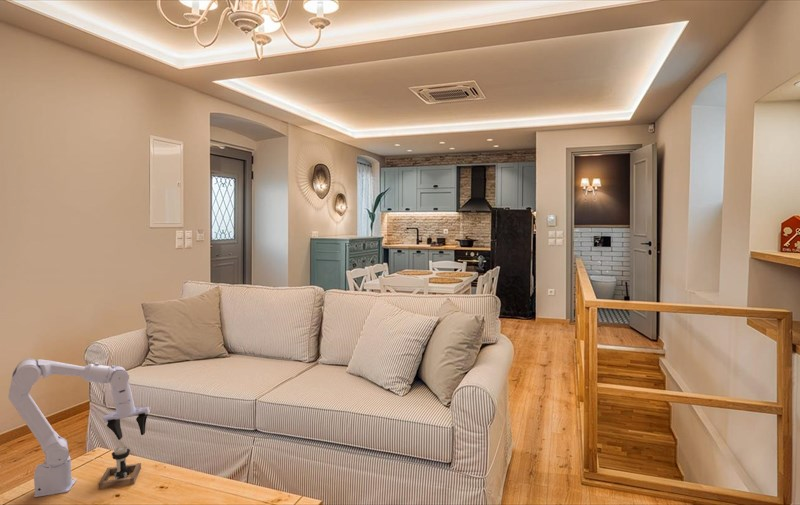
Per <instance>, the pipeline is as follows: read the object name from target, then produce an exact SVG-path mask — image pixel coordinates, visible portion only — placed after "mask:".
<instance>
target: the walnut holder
mask: <svg viewBox="0 0 800 505" xmlns="http://www.w3.org/2000/svg"><path fill="white" fill-rule="evenodd" d="M126 466H127V467H129V469H130V473H131V472H132V474H131V476H129V477H128V476H127V477H126V478H121V479H115V480H113V479H110V480H109V478H110V476H112V475H115V473H116V468H117V466H111V467H107V468H106V470H105V471H104V472H103V475H102V476H101V478H100V480H99V482H98V484H97V488H98V490H100V491H101V490H107V489H111V488H118V487H125V486H130V485H135V483H136V481H137V479H138V476H139V474H140V472H141V469H142V463H141V462H137V463H132V464H131V463H130V464H126Z"/></svg>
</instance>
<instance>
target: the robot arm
mask: <svg viewBox="0 0 800 505" xmlns="http://www.w3.org/2000/svg"><path fill="white" fill-rule="evenodd" d="M52 375H59V376H60V375H62V376H63V375H64V376H75V377H81V378H82V379H83V381H84V382H91V383H92V382H94V383H101V384H109V383H110V386H111V395H112V399H113V403H114V406H115V412H113V413H110V414H105V415H104V416H103V418H102V419H103V423H104V424H105V423H107V424H106V427H107V428H108V429H110V430H111V431H112V432H113V433H114V435H115V436H116V438H117V440H118V441H120V440H122V439H123V431H122V427H121V419H126V418H127V419H128V418H131V417H136V416H137V417H136V422H137V424H138V427H139V432H140V435H141V436H144V435H145V433H146V424H147V418H148V416H149V414H150V413H151V409H150V406H145V407H136V406H135V402H134V397H133V393H132V389H131V385H130V381H129V380H130V374H128V371H127V370H126V369H125V367H122V366H120V365H114V364H113V365H112V364H111V366H110V365H104V364H103V365H102V364H100V362H94V363H89V364H87V365H85V366H84V365H77V364H71V363H67V362H61V361H56V360H48V359H41V358H38V359H35V358H26V359H22V360H20V362H19V363H18V364H17V365H16V367H15V368H14V370H13V372H12V376H11V381H10V385H9V388H8V396H7V398H8V400H9V401H10V402H11V404H12V406H13V407H14V409H15V410H16V411H17V413H18V414H19V415H20V417H21V419H22V421H24V423H25V424H26V425H27V427H28V429H29V430H30V431H31V433H32V435H33V436H34V438H35V439H36V440H37V442H38V444H39V445H40V448H41V450H42V452H43V454H44V459H45V460H44V461H43V463H39V464H38V465H36V466H35V468H34V472H33V473H34V474H33V483H34V495H33V497H34V498H39V497H45V496H51V495H58V494H63V493H68V492H70V491H71V489H72V488H73V486H74V484H75V482H76V481H77V478H72V458H71V456H70V451H69V444H68V440H67V439H66V438H65V437H62V436H60V435H59V434H58V432H57V431H56V430H55V429H54V427H52V425H51V423H50V422H49V421H48V419H47V418H46V416H45V415H44V414H43V412H42V411H41V409H40V407H39V406H38V405H37V402H35V400H34V398H33V397H32V395H31V394H30V391H31V389H32V387H33V386H34V385H35V384H36V383H37V382H38V381H39V380H40V378H41V376H42V379H46V378H49V377H50V376H52Z"/></svg>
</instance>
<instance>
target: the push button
mask: <svg viewBox="0 0 800 505" xmlns="http://www.w3.org/2000/svg"><path fill="white" fill-rule="evenodd" d="M130 452H131V449H130V448H127V446H121V447H120V446H119V447H117V448H115V449H114V451H112V452H111V456H112V459H113V460H115V461H116V462H115V463H116V467H117V468H116V473H115V474H114V478H112V480H115V479H121V478H128V476H129V475H130V474H131V472H130V469H129V467H127V466H126V465H127V458H128V456H130Z"/></svg>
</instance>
